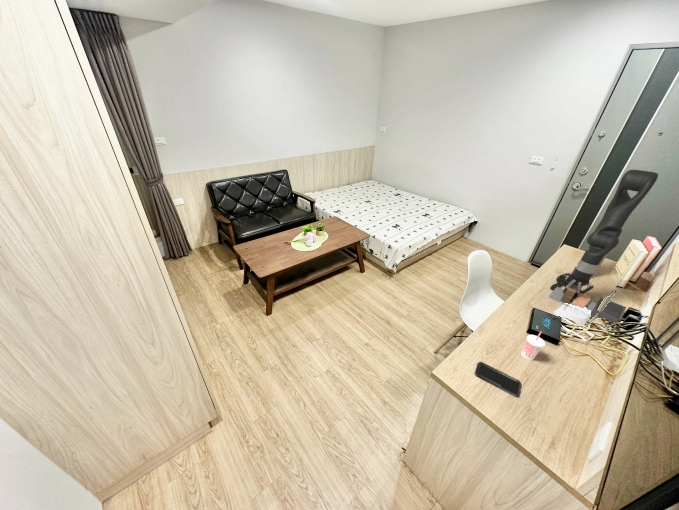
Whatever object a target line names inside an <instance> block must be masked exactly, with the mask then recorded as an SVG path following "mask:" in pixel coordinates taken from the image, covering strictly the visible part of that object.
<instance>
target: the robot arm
mask: <svg viewBox="0 0 679 510" xmlns="http://www.w3.org/2000/svg"><path fill="white" fill-rule="evenodd" d="M658 177H659V174H658V172H655V171H654V172H653V171H647V170H642V169H641V170H640V169H629V170H627V171H626V172H625V173H624V174H623V175H622V177H621V178H620V180H619V181H620V182H619V183H618V186H617V189H616V191H615V194H613V197H612V199H611V201H610V202H609V204H608V205H607V207H606V209H605V212H604V213H603V214H604V215H603V216H602V218H601V220H600V221H599V223H598V225H597V226H596V228H595V229H594V231H593V232H592V233H591V234H589V236H588V237H587V239H586V242H587V244H588V245H589V247H588V248H587V249H586V250H585V252H584V253H583V254H582V256H581V258H580V259H579V261H578V262H577V263H576V265H575V267H574V269H573V271H572V272H571V273H570V274H571V275H565V274H566V273H563V274H564V275H563V276H562V285H561V286H562V287H564V291H563V293H565V291H566V290H567V289H568V288H569V287H570V286H571V285H575V286H577V292H576V293H575V294H574V296H573V298H576V297H577V296H578V295H579V293H581V294H584V295H586V294H587V293H588V292H590V291H591V290H593V289H594V288H595V285H593V284H591V283H590V280H591V278H594V277H595V275H596V274H597V272H598V271H599V269H600V268H601V266H602V264H603V263H604V260H606V257H608V255H609V253H610V251H612V250H613V249H614V248H616V247H617V246H618V245H619V242H620V239H619V238H620V236H621V235H622V233H623V227H624V225H625V224H626V222H627V220H628V218H629V217H630V216H631V215H632V213H633V212H634V211H635V209H636V208H637V207H638V206H639V205H640V203H642V201H643V199H645V197H646V195H648V193H649V192H650V191H651V189H652V188H653V186H655V183H657V180H658ZM628 191H632V192H637V193H636V194H635V195H634V196H633V197H631V196H630V195H629V192H628ZM567 278H569V280H570V281H569V282H570V283H569V284H568V285H567V284H566V279H567ZM583 287H586V288H585V289H583V290H582V288H583Z"/></svg>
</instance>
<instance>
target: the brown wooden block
mask: <svg viewBox="0 0 679 510" xmlns="http://www.w3.org/2000/svg"><path fill="white" fill-rule="evenodd" d="M576 292H577V286H575V285H571V286H570V287H569V288H568V289H567V290H566V291H565V293H564V295H563V296H562V298H561V300H562V301H564V302H567V303H569V302H570V301H571V299H572V298H573V296H574V294H575V293H576Z"/></svg>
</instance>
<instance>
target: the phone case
mask: <svg viewBox="0 0 679 510" xmlns="http://www.w3.org/2000/svg"><path fill="white" fill-rule="evenodd" d="M557 316H560V317H562V318H563V319H562V318H561V319H562V320H564V321H565V320H566V321H565V322H567V323H568V324H570V325H572V324H574V325H577V326H579V325H578V324H576V323H574V322H572V321H571V320H569V319H567V318H565V317H564V316H561V315H557ZM560 317H559V318H560ZM574 325H573V326H574ZM562 327H563V328H562ZM562 327H561V328H562V329H564V330H565V331H568V332H569V331H570V332H572V333H573V334H574V335H576V336H577V337H579V338H580V339H581V340H582V341H584V342H586V343H587V342H589V341H590V340H591V339H593V338H594V337H595V336H596V335H595V334H594V333H592V332H591V331H589V330H587V329H585V328H583V327H581V326H579V328H578V329H579V330H581V329H583V330H586V332H585V333H586V334H589V335H590V336H591V337H589V338H588V339H586V338H585V337H583V336H581V335H579V334H578V333H576V332H574V331H572V330H571V329H569V328H567V327H566V326H564V325H562ZM583 330H582V331H583ZM570 332H569V333H570ZM572 333H571V334H572Z"/></svg>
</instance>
